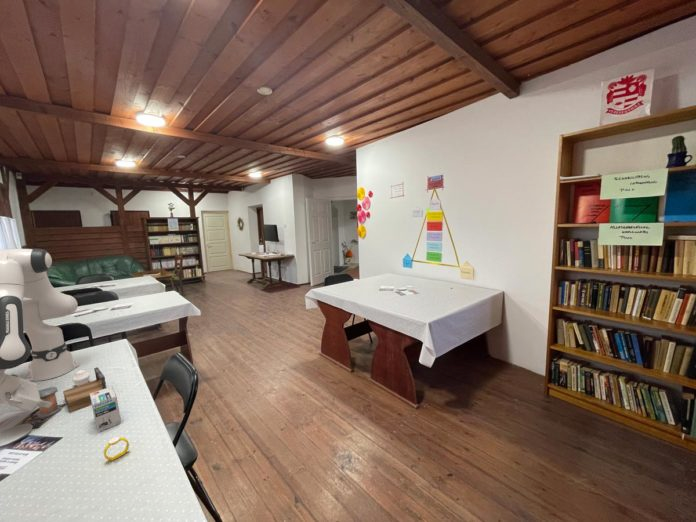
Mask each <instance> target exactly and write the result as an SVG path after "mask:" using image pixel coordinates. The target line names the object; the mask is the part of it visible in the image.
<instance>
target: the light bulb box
mask: <svg viewBox="0 0 696 522" xmlns="http://www.w3.org/2000/svg"><path fill="white" fill-rule="evenodd" d="M90 399H91V404H92V405H91V408H92V413H93V419H94V420H95V425H96V429H97V432H98V433H100V432H102V431H105V430H107V429H110V428H112V427H115V426H117V425H120V424H121V423H122V420H121V414H120V409H119V407H120V406H119V403H118V396H117V394H116V393H115V391H114V388H113V386H112V385H111V386H110V387H109V386H108V387H106V389H103V390H100V391H97V392H94V393H91V394H90Z"/></svg>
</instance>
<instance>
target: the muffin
mask: <svg viewBox="0 0 696 522" xmlns="http://www.w3.org/2000/svg"><path fill="white" fill-rule="evenodd" d="M90 377H91V373H90V372H88V371H86V370H85V369H81V370H77V371H76V372H75V374H74V376H73V377H72V378H71V379H72V380H71V381H72V382H73V384H75V385H76V387H77V386H80V385H83V384H85V383H88V382H89V381H90Z"/></svg>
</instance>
